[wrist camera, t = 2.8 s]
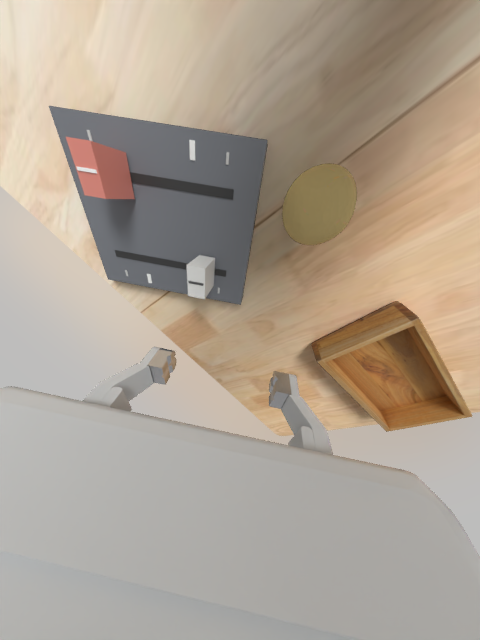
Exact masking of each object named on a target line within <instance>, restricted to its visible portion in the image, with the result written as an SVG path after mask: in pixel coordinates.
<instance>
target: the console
mask: <svg viewBox="0 0 480 640" xmlns="http://www.w3.org/2000/svg"><path fill="white" fill-rule="evenodd" d="M49 108H50V111H51V114H52V117H53V120H54V123H55V126H56V129H57V132H58V134H59V137H60V140H61V143H62V146H63V149H64V152H65V155H66V158H67V161H68V164H69V167H70V169H71V172H72V175H73V178H74V181H75V184H76V187H77V190H78V193H79V196H80V199H81V202H82V204H83V207H84V210H85V213H86V216H87V219H88V222H89V225H90V228H91V231H92V234H93V237H94V239H95V242H96V245H97V248H98V251H99V254H100V257H101V260H102V263H103V266H104V269H105V272H106V274H107V277H108V279H109V280H115V281H120V282H125V283H130V284H135V285H141V286H146V287H151V288H156V289H162V290H167V291H172V292H177V293H182V294H188V285H187V264H188V263H190V262H191V261H192V260H194V259H195V258H196V257H197V256H199V255H202V256H207V257H213V258H215V272H214V286H213V287H212V289H211V291H210V292H209V294H208V295H207V297H206V298H208V299H214V300H219V301H224V302H229V303H235V304H240V305H241V302H242V297H243V291H244V285H245V279H246V273H247V267H248V261H249V255H250V249H251V242H252V236H253V230H254V224H255V218H256V212H257V206H258V200H259V194H260V188H261V181H262V175H263V169H264V163H265V157H266V151H267V140H265V139H258V138H252V137H245V136H239V135H233V134H226V133H220V132H213V131H207V130H201V129H194V128H188V127H182V126H175V125H169V124H162V123H156V122H150V121H143V120H137V119H130V118H124V117H118V116H111V115H105V114H98V113H92V112H86V111H79V110H73V109H67V108H60V107H54V106H49ZM66 137H71V138H77V139H83V140H89V141H93V142H96V143H99V144H102V145H105V146H108V147H111V148H114V149H117V150H120V151H123V152H126V155H127V161H128V166H129V171H130V177H131V182H132V187H133V192H134V198H135V199H104V198H98V197H92V196H86V195H85V194H84V191H83V188H82V185H81V182H80V179H79V176H78V173H77V170H76V167H75V164H74V161H73V158H72V155H71V152H70V149H69V146H68V143H67V140H66Z"/></svg>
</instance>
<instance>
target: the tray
mask: <svg viewBox="0 0 480 640" xmlns="http://www.w3.org/2000/svg"><path fill="white" fill-rule="evenodd" d="M312 347H313V351H314V354H315V358H316V360H317V362H318V363H319V365H320V366H321V367H322V368H323V369H324V370H325V371H326V372H327V373H328V374H329V375H330V376H331V377H332V378H333V379H334V380H335V381H336V382H338V383H339V384H340V385H341V386H342V388H343V389H344V390H345V391H347V392H348V393H349V395H351V396H352V397H353V398H354V399H355V400H356V401H357V402H358V403H359V404H360V406H361V407H362V408H363V409H364V410H365V411H366V412H367V413H368V414H369V415H370V416H371V417H372V418H373V419H374V420H375V421H376V422H377V423H378V424H379V425H380V426H381V427H382V428H383V429H384V430H385V431H386V432H387V431H393V430H399V429H405V428H410V427H416V426H422V425H426V424H433V423H438V422H444V421H449V420H455V419H461V418H466V417H472V414H471V412H470V410H469V408H468V406H467V405H466V403H465V401H464V399H463V397H462V395H461V393H460V392H459V390H458V388H457V386H456V384H455V382H454V381H453V379H452V377H451V375H450V373H449V371H448V369H447V368H446V366H445V364H444V362H443V360H442V358H441V356H440V354H439V352H438V351H437V349H436V347H435V345H434V343H433V341H432V340H431V338H430V336H429V334H428V332H427V331H426V329H425V327H424V325H423V323H422V322H421V320H420V319H419V317H418V316H417V315H415V314H414V313H413V312H412V311H410V310H409V309H408V308H407V307H405V306H404V305H403V304H402V303H399V302H398V301H395V302H393V303H391V304H389V305H387V306H385V307H383V308H381V309H379V310H377V311H375V312H373V313H371V314H369V315H367V316H365V317H363V318H361V319H359V320H357V321H355V322H353V323H351V324H349V325H347V326H345V327H343V328H341V329H339V330H337V331H335V332H333V333H331V334H329V335H327V336H325V337H323V338H321V339H319V340H317V341H315V342H313V343H312Z"/></svg>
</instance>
